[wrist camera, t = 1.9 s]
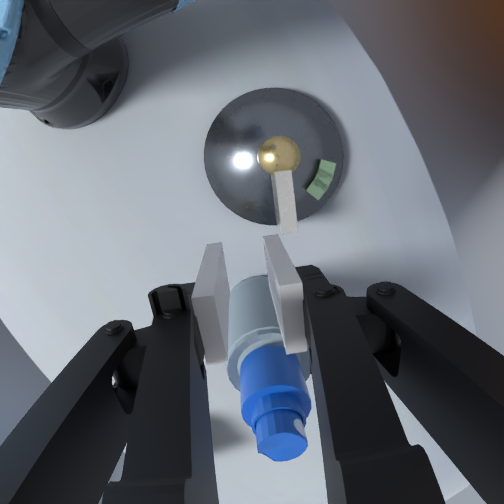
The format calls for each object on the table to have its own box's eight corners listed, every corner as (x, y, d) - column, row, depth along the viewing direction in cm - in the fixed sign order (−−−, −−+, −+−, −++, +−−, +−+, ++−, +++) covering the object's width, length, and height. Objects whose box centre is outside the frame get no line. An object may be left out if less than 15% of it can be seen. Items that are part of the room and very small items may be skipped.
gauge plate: (187, 113, 37) (185, 112, 36) (317, 76, 36) (320, 74, 35) (230, 240, 42) (229, 243, 40) (354, 201, 41) (357, 202, 40)
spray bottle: (268, 262, 43) (305, 388, 19) (303, 311, 45) (359, 447, 21) (214, 299, 44) (197, 442, 20) (252, 343, 46) (266, 489, 22)
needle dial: (254, 140, 37) (257, 138, 32) (291, 136, 37) (299, 133, 32) (266, 226, 40) (270, 236, 35) (301, 222, 40) (309, 230, 36)
